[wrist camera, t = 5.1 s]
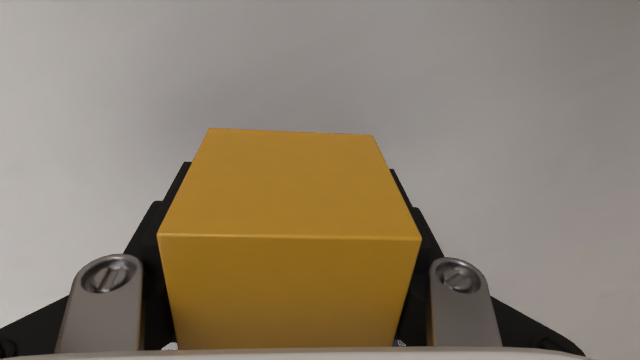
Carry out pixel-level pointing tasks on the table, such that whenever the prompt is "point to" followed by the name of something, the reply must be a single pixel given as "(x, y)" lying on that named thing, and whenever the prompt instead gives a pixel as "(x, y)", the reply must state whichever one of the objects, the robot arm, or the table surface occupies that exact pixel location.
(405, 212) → the mustard block
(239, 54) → the table surface
